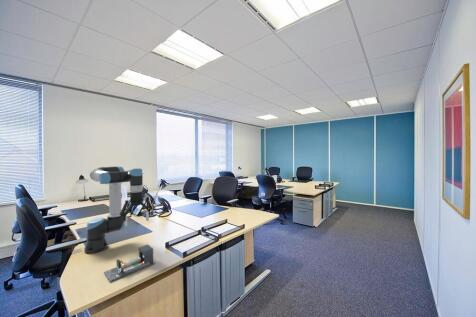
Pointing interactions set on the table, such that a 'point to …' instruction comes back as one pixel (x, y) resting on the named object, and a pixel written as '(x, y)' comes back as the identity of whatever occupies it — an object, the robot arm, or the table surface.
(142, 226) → the table surface
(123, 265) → the orange-striped grey block
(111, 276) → the gauge base
